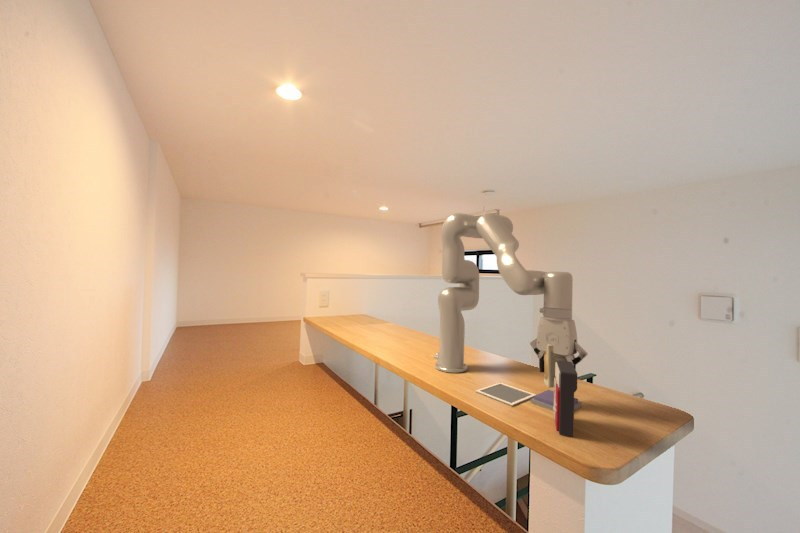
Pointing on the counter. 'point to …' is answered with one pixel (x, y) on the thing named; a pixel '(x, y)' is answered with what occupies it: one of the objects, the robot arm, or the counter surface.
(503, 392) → the white picture frame
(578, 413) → the counter surface
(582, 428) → the counter surface
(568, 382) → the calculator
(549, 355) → the skincare box
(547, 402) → the ink pad
